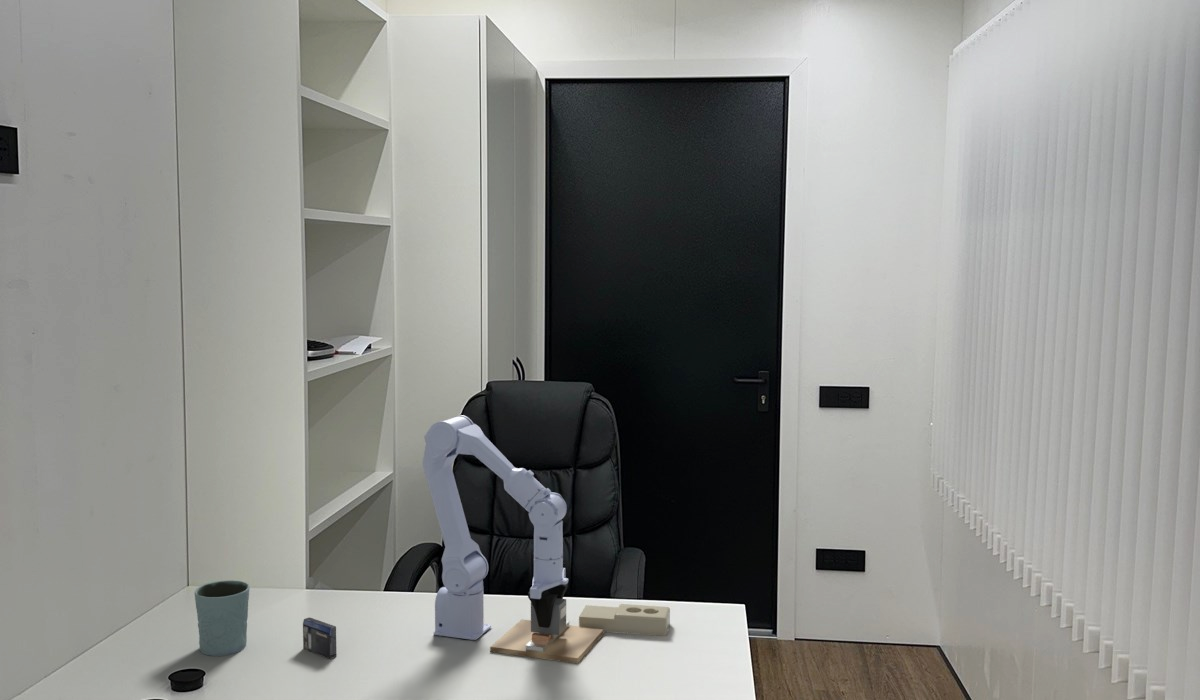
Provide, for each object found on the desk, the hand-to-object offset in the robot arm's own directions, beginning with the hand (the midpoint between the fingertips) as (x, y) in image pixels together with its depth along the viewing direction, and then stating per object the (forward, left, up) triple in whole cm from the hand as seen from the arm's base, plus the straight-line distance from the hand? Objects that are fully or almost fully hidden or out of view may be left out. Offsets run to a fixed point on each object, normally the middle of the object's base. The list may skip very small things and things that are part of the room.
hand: (548, 623), depth 203 cm
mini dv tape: (-40, -19, -4) cm, 44 cm away
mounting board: (0, 0, -4) cm, 4 cm away
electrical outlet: (+12, +14, -5) cm, 19 cm away
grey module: (0, 0, -1) cm, 1 cm away
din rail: (0, 0, -4) cm, 4 cm away
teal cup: (-59, -23, -4) cm, 63 cm away
